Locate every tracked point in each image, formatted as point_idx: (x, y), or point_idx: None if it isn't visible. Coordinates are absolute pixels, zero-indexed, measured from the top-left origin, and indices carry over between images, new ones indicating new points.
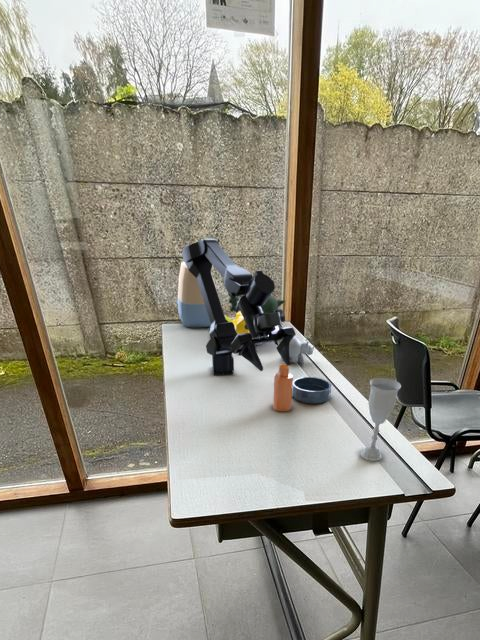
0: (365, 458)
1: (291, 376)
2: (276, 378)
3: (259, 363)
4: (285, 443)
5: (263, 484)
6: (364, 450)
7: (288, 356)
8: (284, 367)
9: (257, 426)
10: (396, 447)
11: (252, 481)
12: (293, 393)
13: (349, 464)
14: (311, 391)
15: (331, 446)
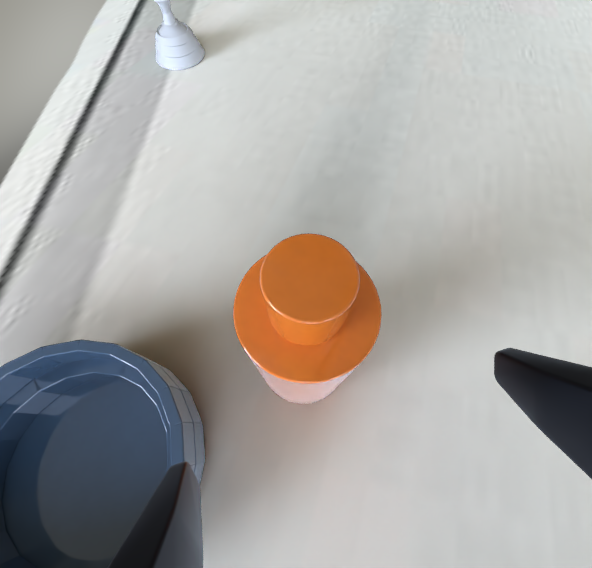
0: (202, 47)
1: (255, 276)
2: (371, 282)
3: (577, 364)
4: (368, 128)
5: (451, 24)
6: (193, 42)
7: (136, 545)
8: (315, 248)
9: (437, 228)
10: (93, 68)
11: (473, 33)
12: (198, 458)
13: (250, 41)
14: (126, 352)
15: (250, 97)
